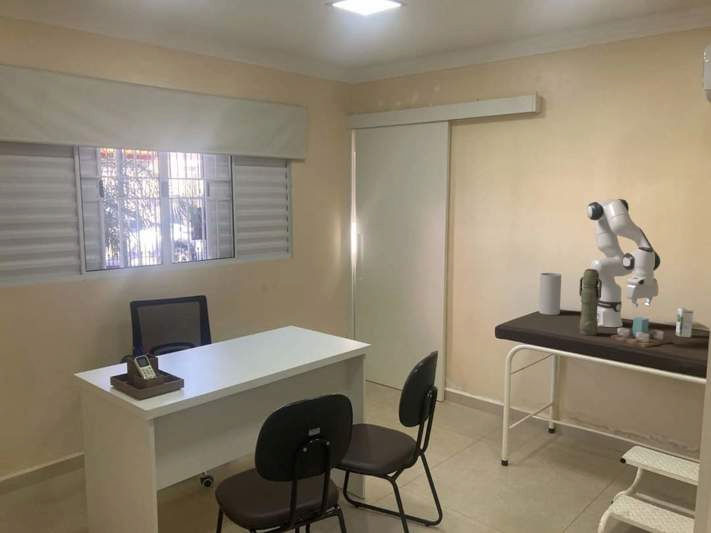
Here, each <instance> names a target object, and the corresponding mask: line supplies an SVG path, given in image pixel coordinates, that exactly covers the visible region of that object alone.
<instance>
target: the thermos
mask: <svg viewBox="0 0 711 533" xmlns="http://www.w3.org/2000/svg"><path fill="white" fill-rule="evenodd" d="M601 290H602V281H601V280H600V279H599V274H598V271H597V270H596V269H590V268H587V269H585V270H584V272H583V276H582V277H581V278H580V279H579V297H580V302H581V312H580V314H581V315H580V320H579V334H580V335H583V336H586V337H587V336H590V337H592V336H593V337H594V336H598V329H599V328H598V327H599V326H598V322H597V307H598V302H599V300H600V298H601Z"/></svg>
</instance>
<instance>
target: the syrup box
mask: <svg viewBox="0 0 711 533" xmlns="http://www.w3.org/2000/svg"><path fill="white" fill-rule="evenodd" d="M676 314H677V315H676V316H677V317H676V324H675V326H676V329H675V335H676V336H678V337H679V338H692V330H693V319H694V318H693V317H694V316H693V315H694V310H692V309H690V308H685V307H679V308H677V313H676Z"/></svg>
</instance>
